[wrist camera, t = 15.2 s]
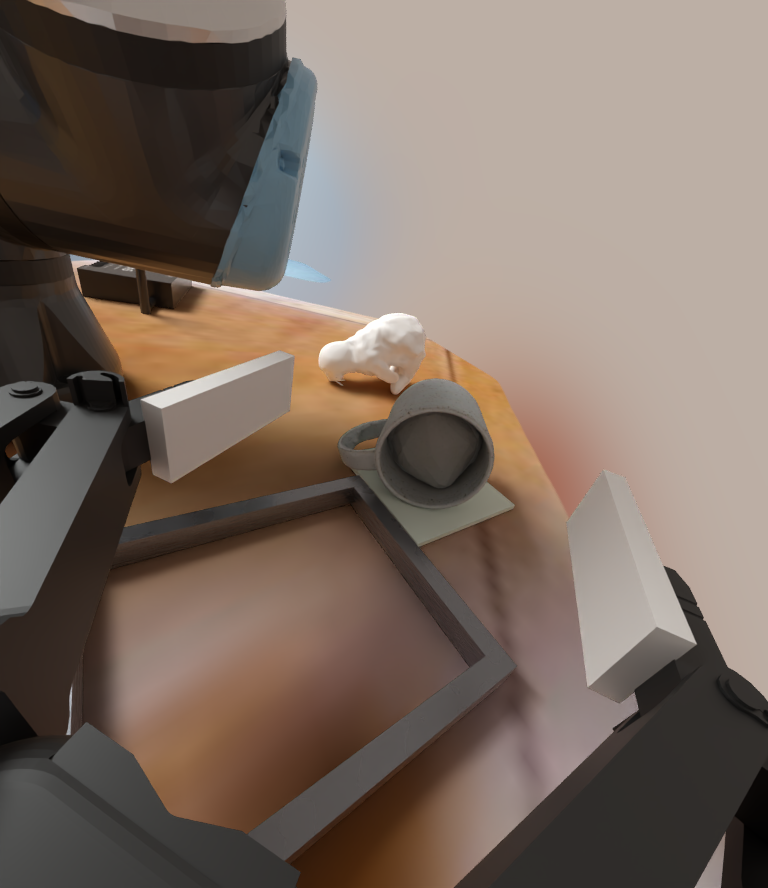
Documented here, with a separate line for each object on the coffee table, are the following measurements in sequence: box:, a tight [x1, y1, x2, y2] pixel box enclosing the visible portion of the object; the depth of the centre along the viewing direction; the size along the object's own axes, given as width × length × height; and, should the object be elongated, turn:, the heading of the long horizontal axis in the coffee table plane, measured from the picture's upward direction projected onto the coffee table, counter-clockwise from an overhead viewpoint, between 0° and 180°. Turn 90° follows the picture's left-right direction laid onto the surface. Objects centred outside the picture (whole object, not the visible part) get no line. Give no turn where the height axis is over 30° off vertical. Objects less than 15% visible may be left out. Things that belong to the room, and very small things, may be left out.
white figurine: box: [319, 313, 426, 395], centre depth 40 cm, size 6×8×12 cm
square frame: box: [66, 475, 517, 865], centre depth 16 cm, size 14×16×2 cm
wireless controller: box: [77, 261, 192, 314], centre depth 48 cm, size 20×14×17 cm
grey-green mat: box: [351, 448, 515, 547], centre depth 28 cm, size 10×10×1 cm
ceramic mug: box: [338, 378, 494, 509], centre depth 26 cm, size 11×8×8 cm
